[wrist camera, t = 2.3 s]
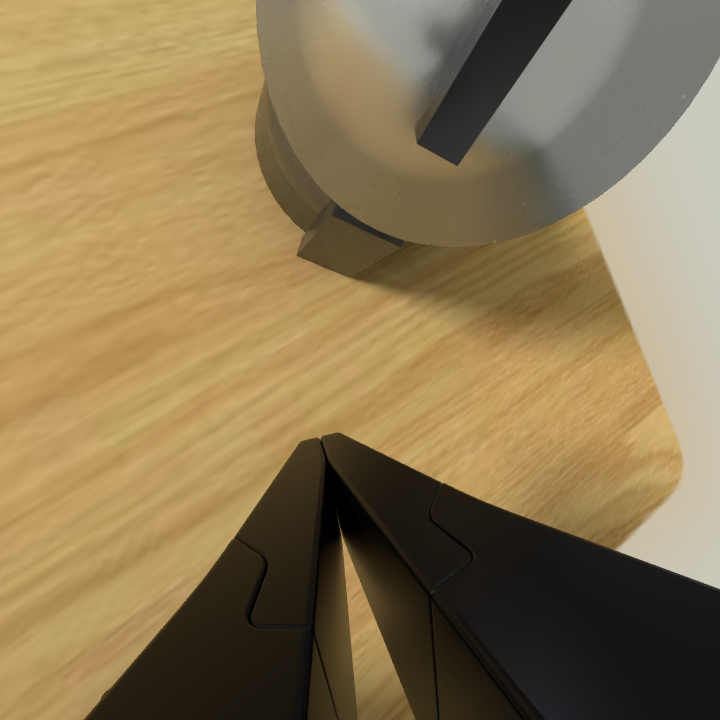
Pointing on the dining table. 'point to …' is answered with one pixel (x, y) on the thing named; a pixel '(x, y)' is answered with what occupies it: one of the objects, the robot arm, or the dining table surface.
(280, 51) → the lid
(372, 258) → the pot
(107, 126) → the dining table surface
